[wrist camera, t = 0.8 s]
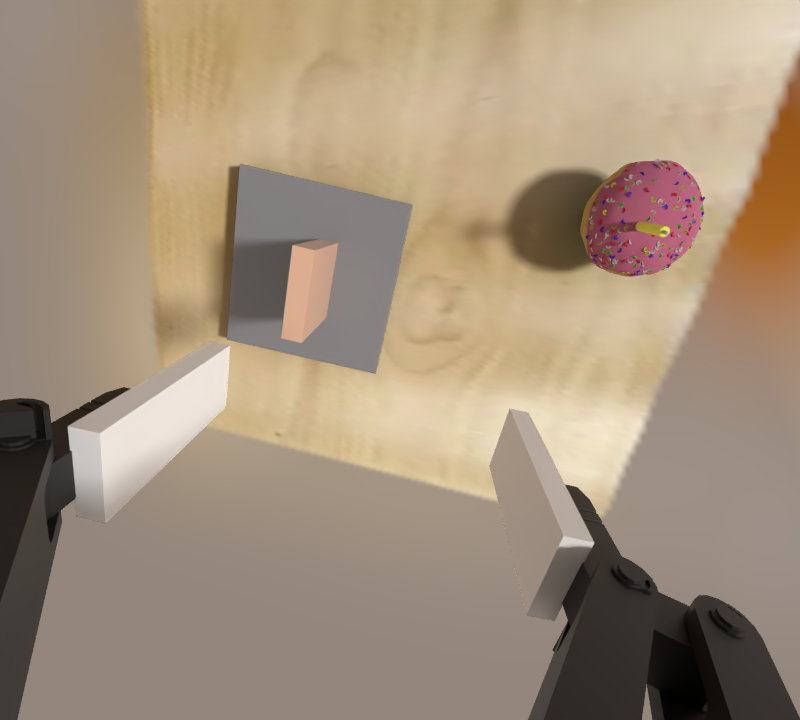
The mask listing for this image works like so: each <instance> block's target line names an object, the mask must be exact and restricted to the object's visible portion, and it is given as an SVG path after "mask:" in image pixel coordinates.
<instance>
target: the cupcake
mask: <svg viewBox="0 0 800 720" xmlns="http://www.w3.org/2000/svg"><path fill="white" fill-rule="evenodd" d="M657 160H658V161H657ZM703 198H704V199H705V197H703ZM703 198H702V195H701V192H700V189H699V186H698V184H697V182H696V180H695V179H694V178H693V176H692V175H691V174H690V173H689V172H687V171H686V170H685V169H684V168H683V167H682V166H681V165H680V164H678V163H676V162H673V161H660V160H659V159H656V160H655V161H644V162H635V163H630V164H627V165H625V166H623V167H622V168H620V169H619V170H618V171H617V172H615V173H614V174H613V175H611V176H610V177H609V178H608V179H607V180H606V181H605V182H604V183H602V184H601V185H600V186H599V187H598V189H597V190H596V191H595V192H594V193H593V195H592V196H591V198H590V199H589V201H588V202H587V204H586V206H585V209H584V212H583V217H582V222H581V227H580V233H581V236H582V239H583V242H584V245H585V249H586V252H587V254H588V255H589V257H590V259H591V260H592V262H593V263H594V264H595V265H596V266H598V267H599V268H602V269H604V270H606V271H608V272H610V273H614V274H618V275H622V276H629V277H632V276H640V275H644V274H649V275H651V274H654V273H657V272H659V271H660V270H664V269H665V268H668V267H669V266H670V265H671V264H672V263H673V262H675V261H676V260H677V259H679V258H680V257H681V256H682V255H683V254H684V253H685V252H686V251H687V250H688V249H689V248H691V246H692V242H693V241H694V240H695V237H696V235H697V233H698V231H699V229H700V225H701V223H702V221H703V219H702V217H703V214H704V212H703V200H704V199H703ZM702 213H703V214H702ZM700 230H701V229H700ZM667 266H668V267H667Z"/></svg>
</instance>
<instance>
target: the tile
mask: <svg viewBox="0 0 800 720" xmlns="http://www.w3.org/2000/svg"><path fill="white" fill-rule="evenodd" d="M337 248H338V243H337V242H332V241H328V240H324V239H318V240H313V241H309V242H304V243H300V244H295V245H292V249H291V255H290V263H289V271H288V279H287V287H286V296H285V304H284V312H283V320H282V328H281V333H282V335H281V338H282V339H286V340H291V341H295V342H299V343H302V342H303V341H304V340H305V339H306V338H307V337H308V336H309V335H310V334H311V333H312V332H313V331H314V330H315V329H316V328H317V327H318V326H319V325H320V324H321V323H322V322H323V321H324V319H325V318H326V316H327V310H328V304H329V298H330V292H331V285H332V279H333V273H334V267H335V261H336V255H337Z"/></svg>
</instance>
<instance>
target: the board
mask: <svg viewBox="0 0 800 720" xmlns="http://www.w3.org/2000/svg"><path fill="white" fill-rule="evenodd" d="M412 207H413V205H411V204H407V203H402V202H398V201H394V200H390V199H386V198H382V197H377V196H373V195H369V194H365V193H361V192H356V191H352V190H348V189H344V188H340V187H336V186H331V185H327V184H323V183H319V182H315V181H310V180H306V179H302V178H298V177H294V176H289V175H285V174H281V173H277V172H273V171H269V170H264V169H260V168H256V167H252V166H248V165H243V164H240V167H239V181H238V194H237V208H236V222H235V236H234V249H233V263H232V277H231V291H230V304H229V318H228V332H227V340H231V341H235V342H240V343H244V344H248V345H253V346H257V347H261V348H266V349H270V350H274V351H279V352H283V353H287V354H292V355H296V356H300V357H305V358H309V359H313V360H318V361H322V362H326V363H331V364H335V365H339V366H344V367H348V368H352V369H357V370H361V371H365V372H370V373H374V374H376V371H377V367H378V362H379V358H380V353H381V349H382V344H383V340H384V335H385V330H386V326H387V321H388V317H389V312H390V308H391V303H392V298H393V294H394V289H395V285H396V280H397V276H398V271H399V266H400V262H401V257H402V253H403V248H404V244H405V239H406V234H407V230H408V225H409V221H410V216H411V212H412ZM318 239H324V240H328V241H332V242H337V243H338V248H337V255H336V261H335V267H334V273H333V279H332V285H331V292H330V298H329V304H328V310H327V316H326V318H325V319H324V321H323V322H322V323H321V324H320V325H319V326H318V327H317V328H316V329H315V330H314V331H313V332H312V333H311V334H310V335H309V336H308V337H307V338H306V339H305V340H304V341H303V342H302V343H299V342H295V341H291V340H286V339H282V338H281V335H282V333H281V328H282V320H283V312H284V304H285V296H286V287H287V279H288V271H289V263H290V255H291V249H292V245H295V244H300V243H304V242H309V241H313V240H318Z"/></svg>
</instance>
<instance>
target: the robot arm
mask: <svg viewBox="0 0 800 720" xmlns="http://www.w3.org/2000/svg"><path fill="white" fill-rule="evenodd" d="M229 355H230V345H226V344H222V343H217V342H213V341H210V342H209V343H207V344H205V345H204V346H202V347H200V348H198V349H197V350H195V351H193V352H192V353H190V354H188V355H187V356H185V357H183V358H182V359H180V360H178V361H177V362H175V363H173V364H172V365H170V366H168V367H167V368H165V369H163V370H161V371H160V372H158V373H156V374H155V375H153V376H151V377H150V378H148V379H146V380H145V381H143V382H141V383H140V384H138V385H136V386H135V387H133V388H131V389H130V388H125V387H123V388H120V389H116V390H113V391H110V392H106V393H104V394H102V395H101V396H99V397H97V398H95V399H93V400H92V401H91V403H90V402H88V403H86V404H84V405H83V406H81V407H80V408H79V409H76V410H74V411H72V412H70V413H68V414H67V415H65V416H63V417H61V418H59V419H58V420H56V421H54V422H52V423H51V418H50V409H49V405H48V404H47V403H45V402H43V401H40V400H36V399H24V398H23V399H22V398H19V399H9V400H2V401H0V720H17V718H18V714H19V709H20V705H21V700H22V696H23V691H24V687H25V683H26V678H27V674H28V670H29V665H30V660H31V656H32V652H33V647H34V643H35V639H36V634H37V630H38V625H39V621H40V617H41V612H42V607H43V603H44V599H45V595H46V590H47V586H48V581H49V577H50V572H51V567H52V564H53V559H54V555H55V550H56V546H57V542H58V537H59V533H60V528H61V524H62V518H61V510H62V509H63V508H64V507H65V506H66V505H68V504H69V503H70V502H71V501H73V500H74V499H75V509H76V517H79V518H84V519H88V520H92V521H97V522H101V523H106V522H107V521H108V520H109V519H110V518H111V517H112V516H113V515H114V514H116V512H118V511H119V510H120V509H121V508H122V507H123V506H124V505H125V504H126V503H127V502H128V501H129V500H130V499H131V498H132V497H133V496H134V495H135V494H136V493H137V492H138V491H139V490H140V489H141V488H142V487H143V486H144V485H146V484H147V483H148V482H149V481H150V480H151V479H152V478H153V477H154V476H155V475H156V474H157V473H158V472H159V471H160V470H161V469H162V468H163V467H164V466H165V465H166V464H167V463H168V462H169V461H170V460H171V459H172V458H173V457H174V456H176V455H177V453H179V452H180V451H181V450H182V449H183V448H184V447H185V446H186V445H187V444H188V443H189V442H190V441H191V440H192V439H193V438H194V437H195V436H196V435H197V434H198V433H199V432H200V431H201V430H203V429H204V428H205V427H206V426H207V425H208V424H209V423H210V422H211V421H212V420H213V419H214V418H215V417H216V416H217V415H218V414H219V413H220V412H221V411H222V410H223V409H224V408H225V407H226V399H227V384H228V370H229ZM490 470H491V474H492V478H493V482H494V486H495V490H496V494H497V498H498V502H499V506H500V510H501V514H502V519H503V522H504V527H505V531H506V535H507V538H508V543H509V547H510V551H511V555H512V559H513V563H514V567H515V571H516V575H517V579H518V583H519V587H520V591H521V595H522V599H523V604H524V607H525V612H526V615H529V616H533V617H538V618H542V619H547V620H552V621H555V619H556V617H557V615H558V613H559V611H560V609H561V607H562V605H563V607H564V610H565V613H566V616H567V619H568V622H567V624H566V626H565V628H564V630H563V631H562V633H561V635H560V637H559V639H558V641H557V643H556V645H555V646H554V648H553V651H554V655H553V657H552V660H551V663H550V665H549V668H548V670H547V673H546V675H545V678H544V680H543V683H542V685H541V688H540V691H539V693H538V696H537V698H536V701H535V703H534V706H533V709H532V711H531V714H530V716H529V719H528V720H642V713H643V706H644V698H645V691H646V684H647V688H648V694H649V701H650V707H651V713H652V719H653V720H800V718H799V716H798V713H797V711H796V709H795V707H794V705H793V703H792V701H791V698H790V696H789V694H788V692H787V690H786V688H785V686H784V684H783V682H782V679H781V677H780V675H779V673H778V671H777V669H776V667H775V665H774V662H773V660H772V658H771V656H770V654H769V652H768V650H767V648H766V646H765V643H764V641H763V639H762V637H761V636H760V634H759V633H758V631H757V630H756V628H755V627H754V626H753V625H752V624H751V623H750V622H749V621H748V619H747V618H745V616H744V615H742V614H741V613H740V612H739V611H737V610H736V609H735V608H733V607H732V606H730V605H729V604H726V603H725V602H723V601H721V600H719V599H716V598H713V597H711V596H708V595H703V596H702V595H699V596H698V597H697V598H695V599H694V601H693V602H692V604H691V605H690V606H687V605H685V604H683V603H681V602H679V601H677V600H674V599H672V598H670V597H668V596H665V595H663V594H661V593H659V592H658V590H657V586H656V585H655V583H654V582H653V580H652V578H651V577H650V576H649V575H648V574H647V573H646V572H645V571H644V570H643V569H642V568H640V567H639V566H638V565H636V564H635V563H633V562H632V561H630V560H628V559H626V558H624V557H622V556H621V555H620V553H619V551H618V549H617V547H616V546H615V544H614V542H613V540H612V538H611V537H610V535H609V533H608V531H607V530H606V528H605V526H604V525H603V524H602V521H601V519H600V517H599V516H598V514H596V510H595V508H594V507H593V505H592V503H591V501H590V500H589V499H588V498H587V497H586V496H585V495H584V494H583V493H582V492H581V491H580V490H579V489H578V488H577V487H574V486H569V485H565V484H564V482H563V480H562V478H561V476H560V474H559V472H558V470H557V468H556V466H555V464H554V462H553V460H552V458H551V456H550V454H549V452H548V450H547V448H546V446H545V444H544V442H543V440H542V438H541V436H540V434H539V432H538V430H537V429H536V427H535V425H534V423H533V421H532V419H531V417H530V415H529V413H527V412H523V411H518V410H514V409H509V412H508V415H507V418H506V421H505V423H504V426H503V429H502V432H501V435H500V437H499V440H498V443H497V446H496V449H495V452H494V454H493V457H492V460H491V463H490Z"/></svg>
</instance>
